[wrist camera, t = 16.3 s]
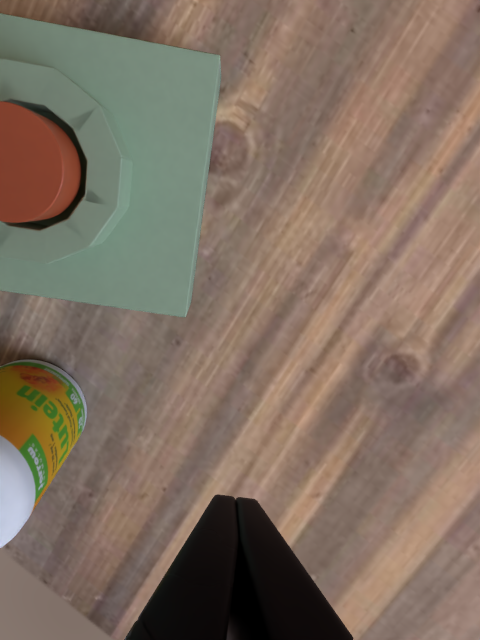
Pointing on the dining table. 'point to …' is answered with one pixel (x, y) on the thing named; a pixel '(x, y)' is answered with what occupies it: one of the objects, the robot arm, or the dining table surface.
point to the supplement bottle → (34, 435)
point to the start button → (35, 166)
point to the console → (113, 165)
